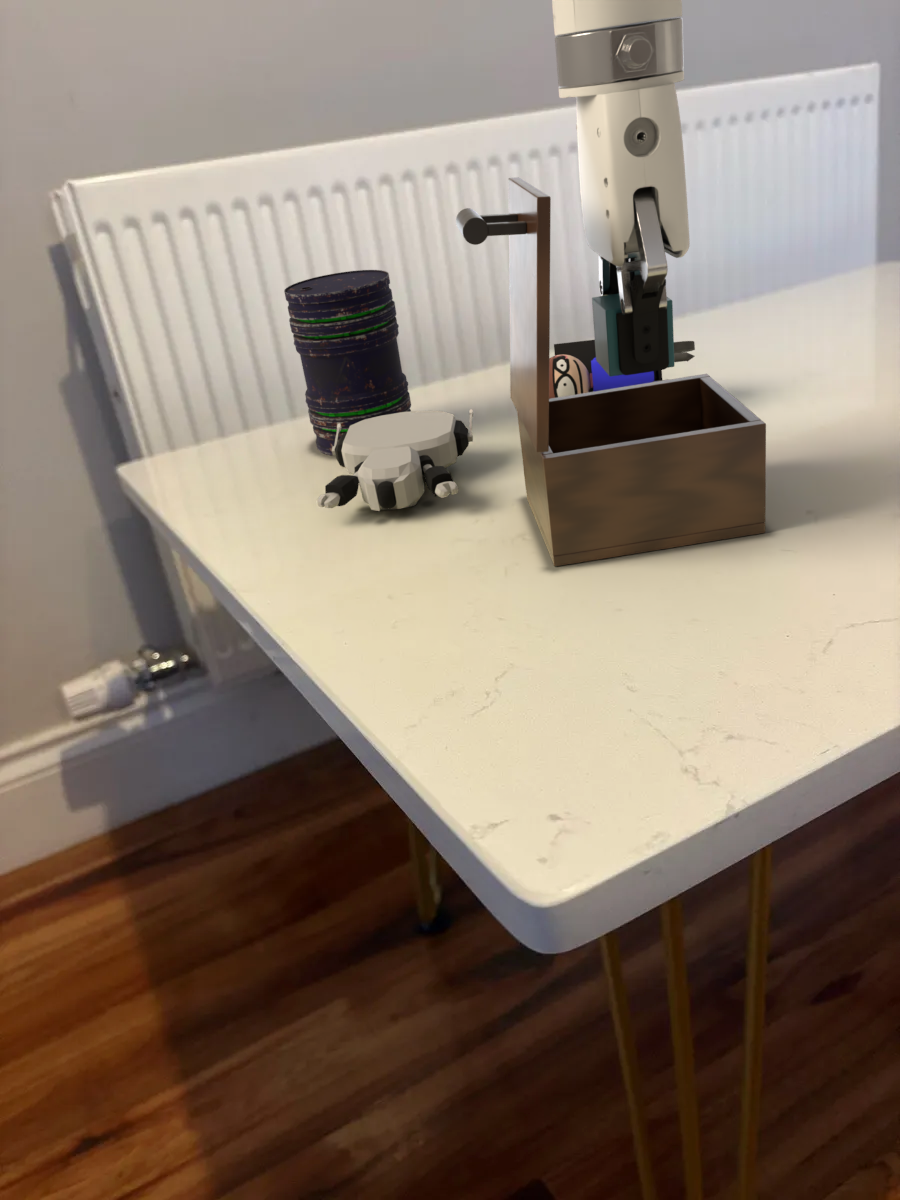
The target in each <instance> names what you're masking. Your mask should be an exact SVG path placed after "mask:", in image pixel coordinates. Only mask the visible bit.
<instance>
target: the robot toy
mask: <svg viewBox="0 0 900 1200" xmlns="http://www.w3.org/2000/svg"><path fill="white" fill-rule="evenodd" d="M468 415H469V422H468V423H469V425H468V427H467V426H466V425H465V423H464V422H463V421H462V420H459V419H457V418H456V417H455V414H453V413H449V412H447V411H443V410H442V411H440V410H416V411H412V410H411V412H400V413H394V414H388V415H382V416H378V417H373V418H369V419H365V420H362V421H360V422H357V423H355V424H353V425H351V426H350V427H349V429H348V432H345V433H343V434H342V436H341V438H340V439H339V434H340V431H341V424H340V423H339V424H337V433H336V438H335V444H334V446H332V454H333V455H332V456H333V457H335V458H336V461H337V463H338V464H339V466H340V467H342V468H345V469H346V471H347V472H348V473H349V474H342V475H338V476H336V477H335V478H333V479H332V480H331V481H330V482H329V483H327V484H325V486H324V487H325V489H324V490H325V493H322V494H319V495H318V498H317V499H316V504H317V506H318V507H319V508H324V509H325V508H326V509H333V508H336V507H343V506H346V505H347V504H348V503H349V502H350V501H352V500H353V499H354V498H356V496H357V495H358V491H359V488H360V493H361V497H362V500H363V503H365V504H367V505H368V506H369V508H370V510H371V511H378V512H380V511H382V510H383V511H385V510H400V509H406V508H411V507H414V506H416V505H417V504H418V502H419V500H420V499H421V497H422V496H423V495H424V493H425V485H426V488H427V489H428V490H429V492H430V493H431V494H432V495H433V496H434V497H438V498H441V499H443V498H447V497H449V496H450V495H452V496H453V495H457V494H459V493H458V492H459V486H458V484H457V483H456V482H455V481H454V479H453V477H452V474H451V472H450V471H448V470H447V468H448V467H450V466H452V465H454V464H456V463H457V459H458V457H461V456H463V455H464V454H465V451H466V450H467V448H468V447H469V444H470V443H471V442H474V435H473V417H474V410H473V409H472V408H471V409H469V414H468ZM338 440H339V441H338Z"/></svg>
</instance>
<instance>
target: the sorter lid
mask: <svg viewBox="0 0 900 1200" xmlns="http://www.w3.org/2000/svg"><path fill="white" fill-rule="evenodd" d="M507 184H508V185H507V187H508V189H507V191H508V213H497V214H480V213H478V212H477V211H476V210H475V209H473V208H469V207H465V208H463V209H462V210H460V211H459V212H458V214H457V215H456V216H455V217H456V218H455V225H456V228H457V230H458V231H459V232H460V234H461V235H462V237H463V238H464V240H465V241H466V242H467V243H468V244H470V245H473V246H477V245H480V244H483V243H484V242H485V241H486V240H487V238H488V237H497V236H498V237H499V236H508V265H509V266H508V275H509V276H508V277H509V278H508V279H509V280H508V282H509V283H508V287H509V294H508V295H509V382H510V383H509V385H510V386H509V387H510V389H509V393H510V399H511V402H512V404H513V406H514V408H515V411H516V413H517V412H518V414H519V416H520V418H521V420H522V422H523V425H524V427H525V429H526V431H527V433H528V435H529V437H530V439H531V441H532V443H533V445H534V447H535V449H536V452H548V451H549V358H550V343H551V342H550V336H551V335H550V333H551V331H550V330H551V329H550V328H551V323H550V322H551V321H550V319H551V215H552V213H551V212H552V211H551V208H552V207H551V206H552V205H551V203H552V201H551V199H552V198H551V197H552V196H550V195H548V194H546V193H545V192H543V191H542V190H540V189H539V188H537V187H535V186H534V185H532V184H531V183H529V182H527V181H526V180H524V179H523V178H521V177H520V176H516V177H508V180H507ZM518 414H517V415H518Z"/></svg>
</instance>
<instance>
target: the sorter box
mask: <svg viewBox="0 0 900 1200" xmlns="http://www.w3.org/2000/svg"><path fill="white" fill-rule="evenodd" d="M662 380H663V381H657V382H651V383H645V384H638V385H632V386H626V387H619V388H613V389H607V390H601V391H594V392H588V393H582V394H576V395H569V396H563V397H557V398H551V399H549V451H548V452H536V449H535V447H534V445H533V443H532V441H531V439H530V437H529V435H528V433H527V431H526V429H525V427H524V425H523V422H522V420H521V418H520V416H519V414H518V412H517V411H516V413H517V422H518V430H519V439H520V448H521V449H520V450H521V459H522V467H523V476H524V485H525V494H526V500H527V502H528V505H529V508H530V510H531V512H532V515H533V517H534V520H535V523H536V524H537V527H538V529H539V532H540V534H541V538H542V539H543V542H544V544H545V546H546V549H547V551H548V555H549V557H550V559H551V562H552V564H553V566H554V567H560V566H566V565H572V564H573V565H574V564H578V563H585V562H591V561H597V560H604V559H609V558H616V557H622V556H628V555H634V554H640V553H641V554H642V553H647V552H653V551H660V550H666V549H671V548H678V547H685V546H692V545H697V544H703V543H709V542H717V541H722V540H726V539H735V538H740V537H744V536H745V537H747V536H752V535H759V534H764V533H766V509H767V508H766V504H767V503H766V501H767V500H766V499H767V497H766V496H767V495H766V490H767V489H766V488H767V486H766V485H767V484H766V483H767V476H766V475H767V471H766V470H767V469H766V467H767V424H766V422H765V421H764V420H762V419H761V418H760V417H758V416H757V414H755V413H754V412H753V411H751V410H750V409H749V408H748V407H747V406H746V405H744V403H742V402H741V401H739V399H737V398H736V397H735V396H733V394H731V393H730V392H729V391H728V390H727V389H725V387H723V386H722V385H721V384H720V383H719V382H717V381H716V380H715V379H714V378H713V377H712V376H710V375H709V373H702V374H695V375H688V376H682V377H675V378H671V379H670V380H669V379H662Z"/></svg>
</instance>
